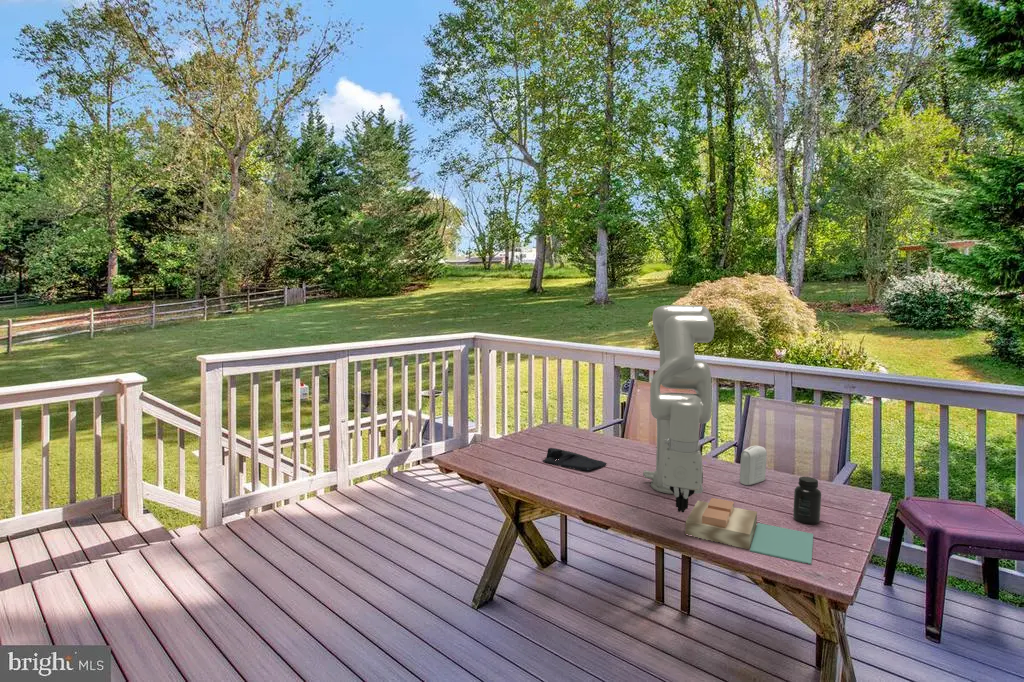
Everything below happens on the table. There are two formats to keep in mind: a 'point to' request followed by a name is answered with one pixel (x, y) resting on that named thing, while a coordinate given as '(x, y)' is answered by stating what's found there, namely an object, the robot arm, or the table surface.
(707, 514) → the tile
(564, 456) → the black folded cloth
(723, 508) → the tile
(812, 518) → the supplement bottle
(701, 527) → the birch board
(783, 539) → the rubber mat
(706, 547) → the table surface
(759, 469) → the photo printer
